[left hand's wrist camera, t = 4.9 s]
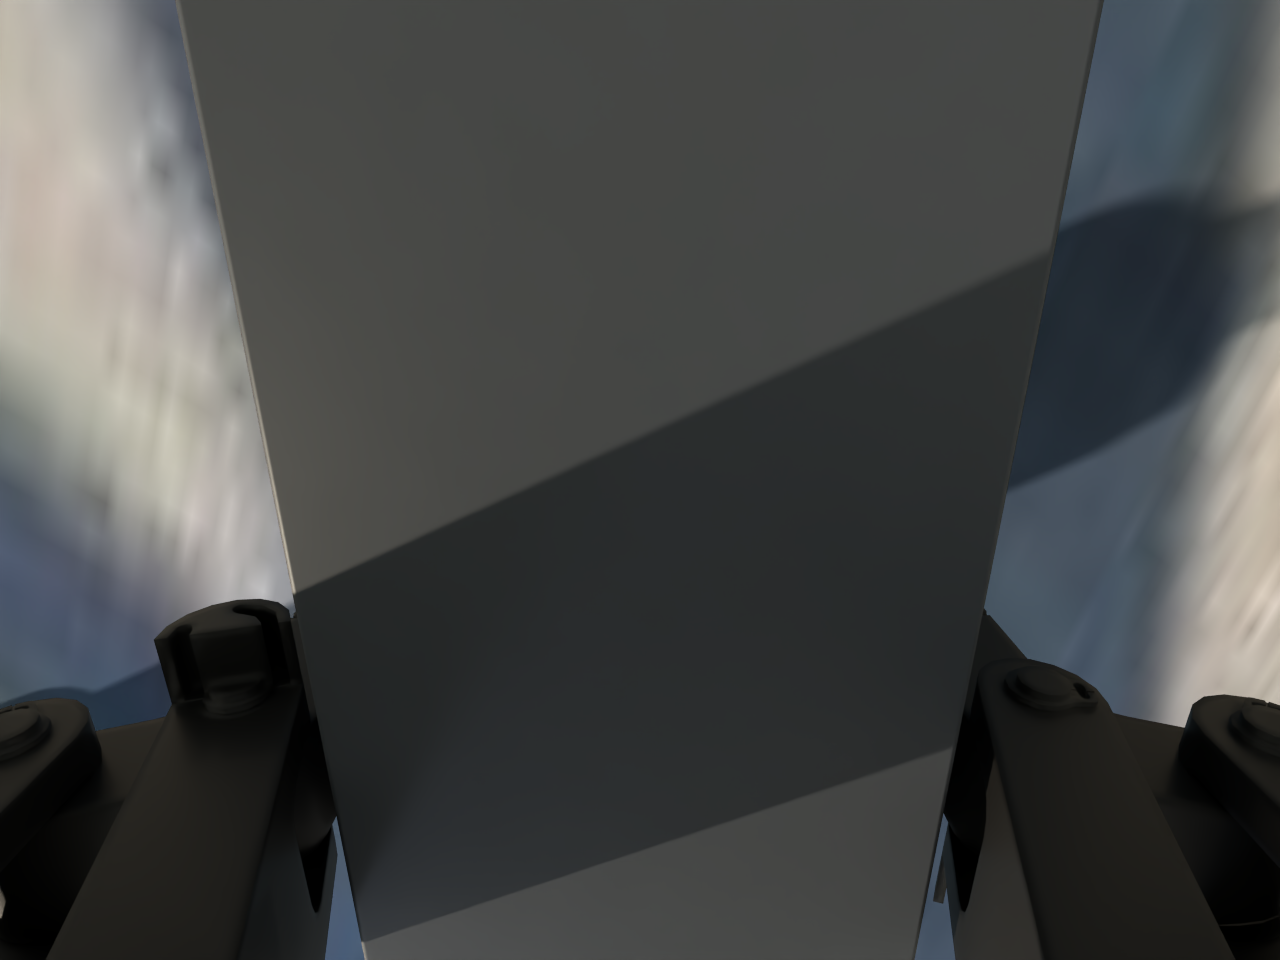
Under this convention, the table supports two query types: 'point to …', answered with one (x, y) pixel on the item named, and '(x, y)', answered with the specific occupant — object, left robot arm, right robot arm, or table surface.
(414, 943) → the bar
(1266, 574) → the table surface
